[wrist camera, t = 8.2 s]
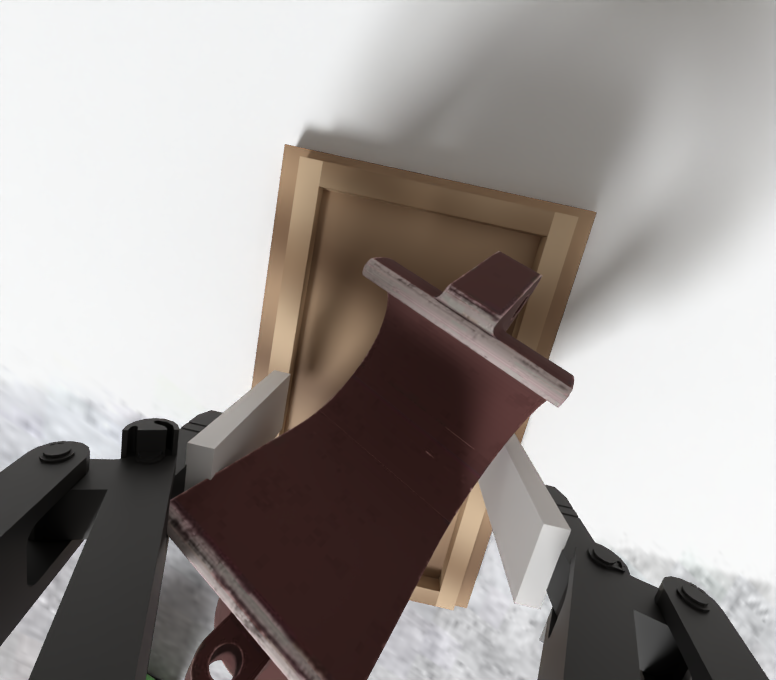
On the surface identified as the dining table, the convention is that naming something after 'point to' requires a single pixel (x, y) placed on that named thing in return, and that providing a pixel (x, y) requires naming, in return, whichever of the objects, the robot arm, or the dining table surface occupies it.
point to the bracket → (364, 481)
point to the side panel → (369, 301)
